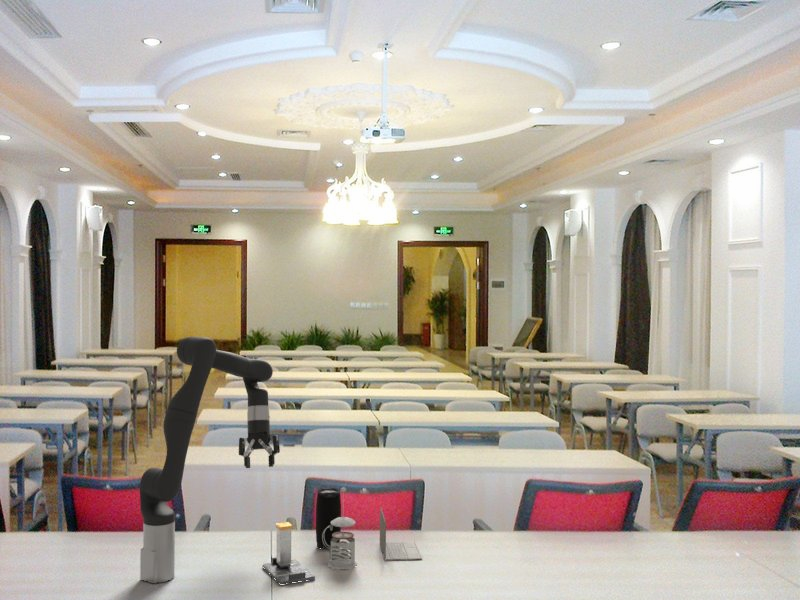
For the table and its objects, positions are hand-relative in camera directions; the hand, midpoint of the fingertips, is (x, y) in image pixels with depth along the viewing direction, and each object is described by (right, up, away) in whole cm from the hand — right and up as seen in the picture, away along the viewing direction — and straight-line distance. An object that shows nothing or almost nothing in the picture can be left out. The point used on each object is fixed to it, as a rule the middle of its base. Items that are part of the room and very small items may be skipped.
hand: (259, 467), depth 284 cm
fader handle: (+11, -26, -22) cm, 36 cm away
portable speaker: (+23, -28, +1) cm, 36 cm away
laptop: (+48, -28, -3) cm, 56 cm away
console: (+13, -28, -26) cm, 40 cm away
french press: (+29, -28, -16) cm, 43 cm away
